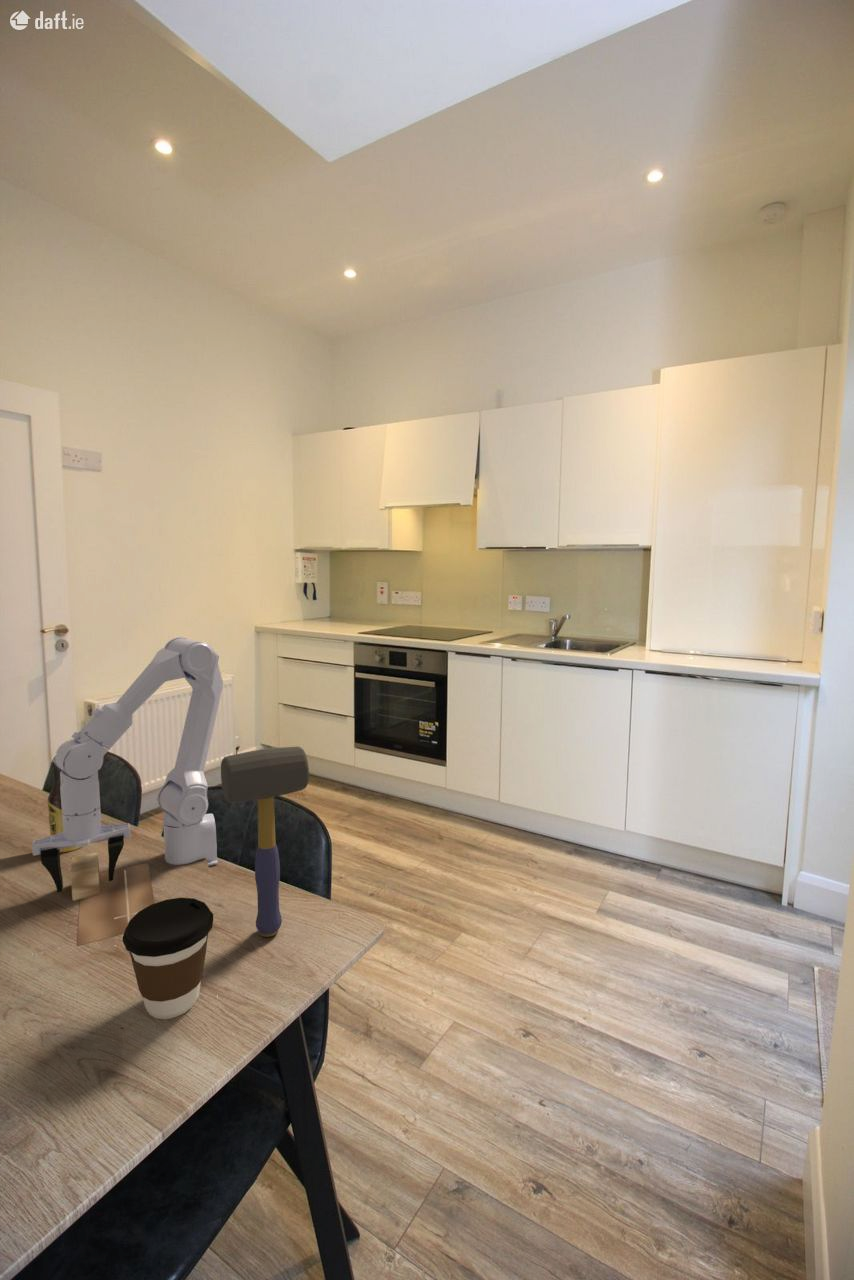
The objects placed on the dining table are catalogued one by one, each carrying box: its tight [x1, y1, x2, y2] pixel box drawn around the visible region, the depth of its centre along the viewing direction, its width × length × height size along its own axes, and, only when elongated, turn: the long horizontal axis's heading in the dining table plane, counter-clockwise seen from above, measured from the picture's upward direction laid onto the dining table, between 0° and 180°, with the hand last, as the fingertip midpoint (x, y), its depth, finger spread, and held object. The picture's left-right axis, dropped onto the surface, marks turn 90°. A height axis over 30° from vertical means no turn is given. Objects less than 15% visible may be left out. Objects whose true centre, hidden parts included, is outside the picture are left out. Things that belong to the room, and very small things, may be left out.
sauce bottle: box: [47, 759, 82, 854], centre depth 117 cm, size 6×6×20 cm
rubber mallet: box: [220, 746, 310, 938], centre depth 91 cm, size 12×8×30 cm, turn 119°
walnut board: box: [76, 862, 156, 947], centre depth 99 cm, size 11×22×2 cm, turn 29°
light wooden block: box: [70, 851, 101, 902], centre depth 102 cm, size 4×6×6 cm, turn 29°
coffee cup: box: [122, 897, 214, 1020], centre depth 77 cm, size 11×11×12 cm
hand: (86, 883), depth 102 cm, fingers open, 7 cm apart
